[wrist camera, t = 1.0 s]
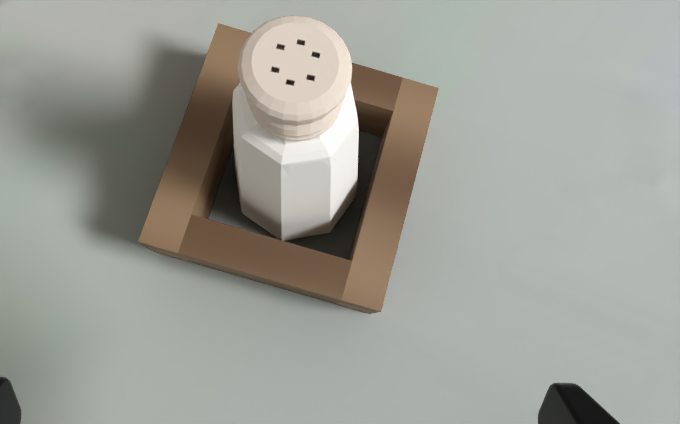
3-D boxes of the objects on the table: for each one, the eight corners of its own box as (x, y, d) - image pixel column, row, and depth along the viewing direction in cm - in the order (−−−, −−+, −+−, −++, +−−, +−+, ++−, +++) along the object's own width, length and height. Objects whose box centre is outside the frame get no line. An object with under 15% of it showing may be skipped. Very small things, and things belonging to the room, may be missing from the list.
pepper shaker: (250, 110, 25) (214, -59, 14) (368, 138, 25) (423, -10, 14) (219, 228, 23) (153, 141, 13) (343, 255, 24) (383, 193, 13)
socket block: (370, 313, 23) (380, 311, 20) (158, 252, 23) (138, 241, 20) (421, 116, 25) (438, 88, 22) (227, 59, 25) (218, 23, 22)
